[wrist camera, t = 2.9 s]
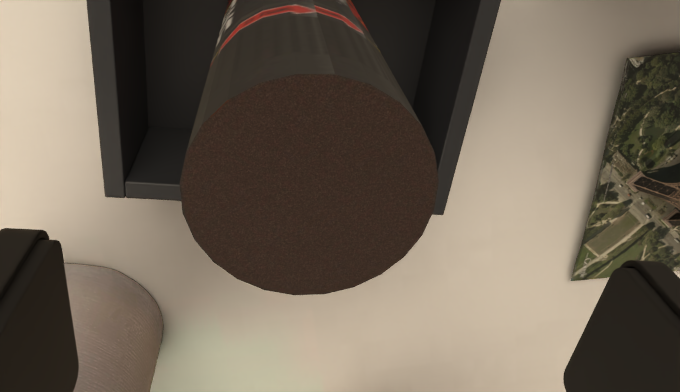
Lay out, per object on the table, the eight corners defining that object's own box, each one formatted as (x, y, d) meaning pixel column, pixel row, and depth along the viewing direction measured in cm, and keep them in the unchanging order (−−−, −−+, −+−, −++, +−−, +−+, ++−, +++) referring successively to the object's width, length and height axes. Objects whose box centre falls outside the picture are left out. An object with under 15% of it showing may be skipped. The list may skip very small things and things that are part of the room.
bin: (134, 135, 28) (104, 197, 23) (116, -159, 22) (70, -164, 17) (414, 155, 30) (443, 215, 25) (472, -105, 24) (527, -95, 19)
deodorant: (230, -54, 24) (185, 52, 11) (366, -29, 25) (470, 93, 12) (220, 79, 26) (174, 286, 14) (342, 96, 28) (404, 302, 15)
